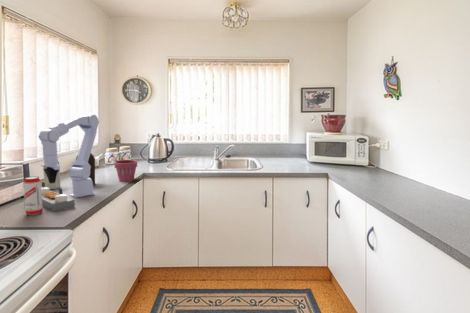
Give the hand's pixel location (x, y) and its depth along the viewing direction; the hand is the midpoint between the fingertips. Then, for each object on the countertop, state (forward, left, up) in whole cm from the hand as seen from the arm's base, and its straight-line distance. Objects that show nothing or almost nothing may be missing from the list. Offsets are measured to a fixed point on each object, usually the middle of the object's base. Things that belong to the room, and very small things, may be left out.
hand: (52, 182), depth 145 cm
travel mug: (-13, -34, -11) cm, 38 cm away
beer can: (+11, +9, -11) cm, 18 cm away
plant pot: (-53, -21, -11) cm, 58 cm away
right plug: (0, +10, -7) cm, 12 cm away
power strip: (0, 0, -10) cm, 10 cm away
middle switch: (0, 0, -7) cm, 7 cm away
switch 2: (0, +3, -7) cm, 8 cm away
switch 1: (0, -4, -7) cm, 8 cm away
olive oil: (-30, -28, -11) cm, 42 cm away
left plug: (0, -10, -7) cm, 12 cm away
